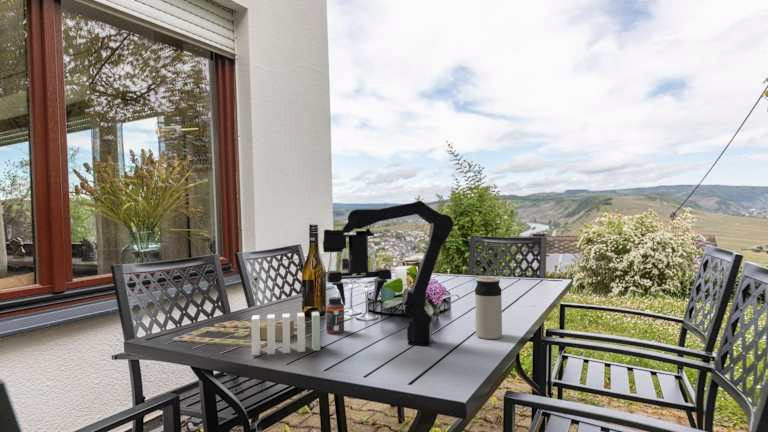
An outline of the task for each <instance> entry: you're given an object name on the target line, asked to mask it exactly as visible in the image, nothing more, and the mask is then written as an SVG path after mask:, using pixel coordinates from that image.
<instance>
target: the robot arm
mask: <svg viewBox="0 0 768 432" xmlns="http://www.w3.org/2000/svg"><path fill="white" fill-rule="evenodd" d="M415 215H417V216H419V218H421V219H422V220H424V221H425V222H426V223H428V224H429V225H430V226H429V232H428V234H429V235H428V242H427V244H426V245H427V246H426V249H425V251H424V254H423V256H422V260H421V263H420V265H419V269H418V272H417V274H416V278H415V281H414V283H413V285H412V287H411V288H410V289H408V288H405V291H404V292H405V293H404V296H403V298H402V299H401V302H402V308H403V310H404V311H403V312H404V313H405V315H406V316H407V317H408V318H409V319H410V320H409V321H408V326H407V327H406V333H407V334H406V335H407V336H406V337H407V338H406V340H407V344H408V345H414V346H426V347H427V346H430V345H431V344H432V342H433V341H434V338H433V335H432V333H433V332H432V319H433V318H432V316H431V315H430V313H429V312H428V310H426V308H425V307H426V306H425V305H426V301H427V300H426V299H427V290H428V287H429V284H430V281H431V278H432V275H433V272H434V268H435V266H436V263H437V261H438V257H439V255H440V251H441V249H442V246H443V245H444V243H445V242H446V240H447V239H448V237H449V235H450V233H451V231H452V229H454V228H453V227H454V221H453V218H452V217H451V216H450V215H448V214H446V213H445V214H444V213H443V214H441V213H440V212H439V211H436V210H435V209H433V208H432V207H430V206H429V205H427V204H426V203H425V202H423V201H421V200H416V201H414V202H410V203H406V204H400V205H399V204H398V205H393V206H389V207H385V208H383V207H382V208H377V209H371V208H370V209H366V208H363V209H354V210H352V211H350V212H349V214H348V216H347V223H346V225H345V226H343V227H342V228H343V229H324V230H323V241H322V249H323V253H324V254H326V253H343V252H344V250H346V249H347V248H348V258H342V259H341V270H328V271H327V272H326V280H327V283H331V284H332V286H336V289H337V290H338V292H339V297H341V303H342V304H343V305H344V306H346V296H345V295H346V294H345V287H344V282H343V281H342V280H351V279H368V278H374V279H373V280H374V287H373V289H374V291H373V303H374V304H376V303H377V301H378V298H379V295H380V292H381V291H382V288H383V287H384V284H385V283H388V280H392V270H391V269H390V268H387V267H386V268H385V267H381V268H375V270H373V271H370V270H369V238H368V237H374V233H373V232H372V231H371V230H370V228H369V226H371V225H373V224H377V223H379V222H383V221H387V220H388V221H389V220H393V219H399V218H403V217H405V218H406V217H408V216H415ZM366 227H368V228H366ZM363 228H366V229H365V230H361V229H363ZM357 229H358V230H357ZM353 230H355V234H354V233H353V234H349V233H351V232H352V231H353ZM347 233H348V234H347ZM347 238H348V247H347ZM342 271H347V272H342Z"/></svg>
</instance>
